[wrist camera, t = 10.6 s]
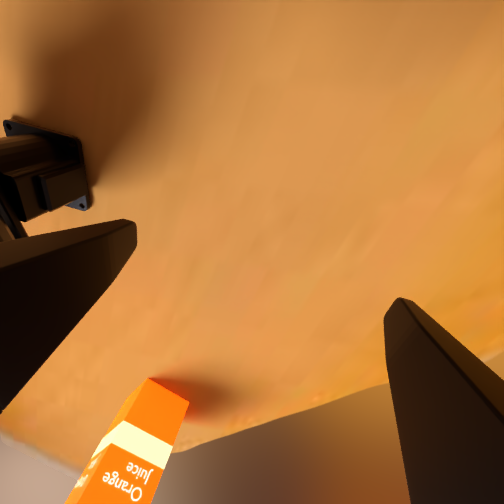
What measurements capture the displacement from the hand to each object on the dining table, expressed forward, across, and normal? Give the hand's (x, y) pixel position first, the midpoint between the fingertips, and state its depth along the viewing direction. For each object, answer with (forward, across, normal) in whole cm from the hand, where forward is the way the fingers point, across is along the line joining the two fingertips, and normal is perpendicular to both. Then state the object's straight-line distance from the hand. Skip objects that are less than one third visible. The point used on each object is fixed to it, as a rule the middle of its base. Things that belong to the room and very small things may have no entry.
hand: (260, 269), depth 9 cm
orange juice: (+13, +10, +40) cm, 43 cm away
